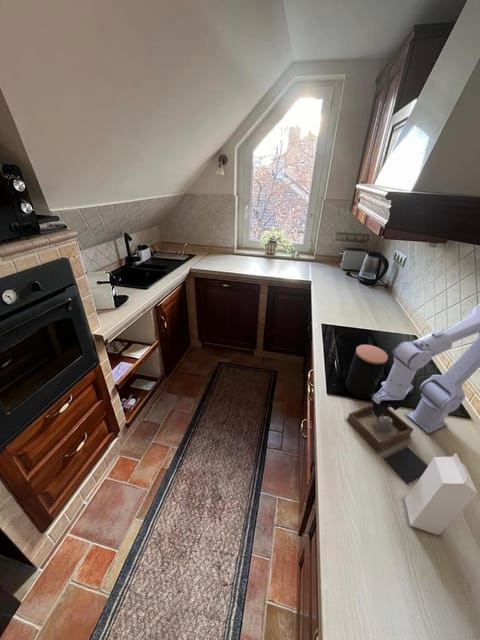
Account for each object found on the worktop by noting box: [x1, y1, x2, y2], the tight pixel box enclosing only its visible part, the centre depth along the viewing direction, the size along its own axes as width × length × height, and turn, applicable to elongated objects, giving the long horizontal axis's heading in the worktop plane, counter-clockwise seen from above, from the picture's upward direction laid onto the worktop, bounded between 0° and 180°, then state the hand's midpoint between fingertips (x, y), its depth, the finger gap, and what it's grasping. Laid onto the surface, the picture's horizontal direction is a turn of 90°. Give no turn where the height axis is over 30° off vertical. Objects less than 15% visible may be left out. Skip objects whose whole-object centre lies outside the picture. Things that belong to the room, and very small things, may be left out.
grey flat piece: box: [371, 411, 393, 431], centre depth 83 cm, size 7×2×8 cm, turn 92°
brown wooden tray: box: [346, 403, 414, 453], centre depth 84 cm, size 15×13×4 cm
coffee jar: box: [345, 344, 389, 399], centre depth 96 cm, size 11×11×18 cm
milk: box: [404, 452, 478, 536], centre depth 58 cm, size 6×6×22 cm
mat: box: [383, 446, 429, 485], centre depth 74 cm, size 10×8×1 cm
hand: (384, 411), depth 81 cm, fingers open, 7 cm apart
